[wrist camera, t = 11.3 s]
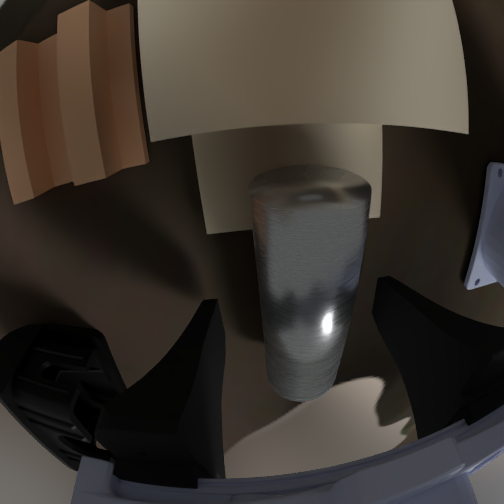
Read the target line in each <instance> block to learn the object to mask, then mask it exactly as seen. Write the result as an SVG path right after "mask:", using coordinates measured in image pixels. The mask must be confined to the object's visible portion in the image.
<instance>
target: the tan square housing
mask: <svg viewBox="0 0 504 504" xmlns="http://www.w3.org/2000/svg"><path fill="white" fill-rule="evenodd" d="M138 26H139V43H140V57H141V68H142V78H143V88H144V96H145V105H146V112H147V120H148V127H149V134H150V140H151V142H155V141H160V140H165V139H170V138H176V137H181V136H187V135H192V141H193V149H194V156H195V163H196V169H197V176H198V183H199V189H200V195H201V201H202V208H203V214H204V220H205V225H206V231H207V234H214V233H223V232H232V231H241V230H250V229H253V228H252V218H251V208H250V199H249V184H250V182H251V181H252V180H253V179H254V178H255V177H256V176H258V175H260V174H261V173H264V172H266V171H269V170H272V169H275V168H280V167H285V166H292V165H323V166H331V167H336V168H340V169H344V170H347V171H350V172H353V173H355V174H357V175H359V176H361V177H363V178H364V179H365V180H366V181H367V182H368V183H369V184H370V186H371V188H372V194H371V204H370V212H369V218H376V217H380V206H381V187H382V124H383V125H398V126H410V127H420V128H429V129H437V130H445V131H451V132H458V133H464V134H468V126H469V125H468V94H467V81H466V71H465V62H464V55H463V48H462V42H461V37H460V32H459V27H458V22H457V18H456V13H455V9H454V6H453V2H452V0H138Z"/></svg>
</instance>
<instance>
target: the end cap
mask: <svg viewBox="0 0 504 504" xmlns="http://www.w3.org/2000/svg"><path fill="white" fill-rule="evenodd" d="M125 390H127V388H126V386H125V384H124V382H123V379H122V377H121V375H120V373H119V370H118V368H117V366H116V364H115V361H114V359H113V356H112V354H111V351H110V349H109V346H108V344H107V341H106V339H105V337H104V335H103V334H102V333H101V332H99V331H98V330H94V329H87V328H80V327H72V326H66V325H59V324H42V325H40V324H35V325H27V326H23V327H20V328H18V329H16V330H14V331H12V332H10V333H9V334H7V335H6V336H4V337H3V338H2V339H1V340H0V402H1V403H2V405H3V406H4V407H5V408H6V409H7V410H8V412H9V413H10V414H11V415H12V416H13V417H14V418H15V419H16V420H17V421H18V422H19V423H20V424H21V425H22V427H24V429H26V430H27V432H29V434H30V435H32V436H33V437H34V438H35V439H36V440H37V441H38V442H39V443H40V444H41V445H42V446H43V447H44V448H46V449H47V450H48V451H49V452H50V453H51V454H52V455H54V456H55V457H56V458H57V459H58V460H60V461H61V462H62V463H63V464H65V465H66V466H67V467H69V468H71V469H73V470H75V471H78V470H79V466H80V462H81V458H82V456H88V457H92V458H96V459H101V460H105V461H108V462H111V463H113V464H115V460H116V457H115V456H114V455H113V454H111V453H110V452H109V451H108V450H104V449H100V448H97V446H96V441H97V439H96V437H95V435H94V433H95V429H96V426H97V422H98V419H99V415H100V412H101V410H102V407H103V405H104V403H106V402H107V401H109V400H111V399H112V398H114V397H116V396H117V395H119V394H121V393H122V392H124V391H125Z"/></svg>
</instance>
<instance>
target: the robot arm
mask: <svg viewBox="0 0 504 504" xmlns="http://www.w3.org/2000/svg"><path fill="white" fill-rule="evenodd" d="M497 281H498V282H499V283H500V284H501V285H502V286H503V287H504V163H497V162H490V163H489V164H488V166H487V171H486V181H485V190H484V197H483V204H482V210H481V216H480V221H479V226H478V231H477V236H476V240H475V245H474V249H473V253H472V257H471V261H470V264H469V268H468V272H467V275H466V278H465V282H464V286H465V287H466V288H467V289H468V290H470V289H474V288H477V287H481V286H484V285H487V284H491V283H494V282H497ZM372 314H373V317H374V320H375V323H376V325H377V328H378V330H379V332H380V334H381V336H382V338H383V340H384V342H385V343H386V345H387V347H388V349H389V351H390V353H391V355H392V356H393V358H394V360H395V362H396V364H397V366H398V368H399V370H400V373H401V375H402V378H403V381H404V384H405V386H406V389H407V393H408V396H409V399H410V403H411V407H412V411H413V415H414V419H415V424H416V430H417V436H418V440H417V441H414V442H411V443H409V444H406V445H404V446H401V447H398V448H395V449H392V450H389V451H387V452H383V453H380V454H377V455H374V456H371V457H367V458H364V459H360V460H357V461H352V462H349V463H345V464H341V465H336V466H331V467H327V468H322V469H316V470H311V471H305V472H299V473H292V474H284V475H276V476H267V477H253V478H231V479H226V477H225V466H224V454H223V439H222V414H221V398H222V386H223V375H224V365H225V354H226V350H225V331H224V327H223V322H222V318H221V313H220V308H219V304H218V299H209V300H203V301H202V302H201V304H200V306H199V308H198V309H197V311H196V313H195V315H194V316H193V318H192V320H191V321H190V323H189V324H188V326H187V327H186V329H185V330H184V332H183V333H182V335H181V336H180V337H179V339H178V340H177V341H176V343H175V344H174V345H173V347H172V348H171V349H170V350H169V352H168V353H167V354H166V355H165V356H164V357H163V358H162V359H161V361H160V362H159V363H158V364H157V365H156V366H155V367H154V368H152V369H151V370H150V371H149V372H148V373H147V374H146V375H145V376H144V377H142V378H141V379H140V380H139V381H137V382H136V383H135V384H134V385H132V386H131V387H129V388H128V389H127V390H125V391H124V392H122V393H121V394H119V395H117V396H116V397H114V398H112V399H111V400H109V401H107V402H106V403H104V405H103V407H102V410H101V412H100V415H99V419H98V422H97V426H96V429H95V433H94V435H95V437H96V439H97V441H98V442H99V443H100V444H101V445H102V446H103V447H105V448H106V449H107V450H108V451H109V452H110V453H111V454H113V455H114V456H115V457H116V460H115V464H113V463H111V462H108V461H105V460H101V459H96V458H92V457H88V456H82V458H81V462H80V466H79V470H78V474H77V478H76V482H75V486H74V491H73V496H72V500H71V504H478V503H477V500H476V497H475V494H474V491H473V488H472V486H471V483H470V480H469V478H468V477H469V476H470V475H472V474H473V473H475V472H476V471H478V470H479V469H481V468H482V467H484V466H485V465H487V464H488V463H490V462H491V461H492V460H494V459H495V458H497V457H498V456H499V455H501V454H502V453H503V452H504V327H497V326H493V325H489V324H485V323H481V322H478V321H475V320H472V319H469V318H466V317H464V316H461V315H459V314H457V313H454V312H452V311H450V310H448V309H446V308H444V307H442V306H440V305H438V304H436V303H434V302H433V301H431V300H429V299H427V298H426V297H424V296H422V295H421V294H419V293H417V292H416V291H414V290H412V289H411V288H409V287H408V286H406V285H404V284H403V283H401V282H399V281H398V280H396V279H394V278H392V277H390V276H386V277H380V278H378V280H377V286H376V292H375V298H374V304H373V310H372ZM278 495H281V496H278Z"/></svg>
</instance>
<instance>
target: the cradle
mask: <svg viewBox="0 0 504 504" xmlns="http://www.w3.org/2000/svg"><path fill="white" fill-rule="evenodd" d="M0 141H1V148H2V154H3V159H4V165H5V170H6V174H7V179H8V183H9V187H10V192H11V195H12V199H13V203H14V205H15V204H18V203H21V202H24V201H27V200H30V199H33V198H35V197H37V196H39V195H41V194H43V193H44V192H46V191H48V190H50V189H52V188H53V187H56V186H59V185H62V184H66V183H69V182H74V186H77V185H81V184H84V183H88V182H92V181H96V180H100V179H104V178H107V177H109V176H111V175H112V174H114V173H116V172H118V171H120V170H121V169H124V168H129V167H133V166H138V165H143V164H147V163H148V162H150V161H149V155H148V149H147V143H146V137H145V130H144V123H143V116H142V109H141V101H140V92H139V83H138V73H137V62H136V49H135V33H134V8H133V6H132V5H131V4H130V3H128V4H125V5H122V6H119V7H117V8H114V9H111V10H108V11H106V10H104V9H103V8H101V7H100V6H98V5H96V4H95V3H93V2H92V1H90V0H88V1H86V2H84V3H81V4H79V5H77V6H75V7H73V8H71V9H69V10H67V11H65V12H63V13H61V14H59V15H58V20H57V34H55V35H53V36H51V37H49V38H47V39H46V40H44V41H42V42H40V43H39V44H37V43H32V42H27V41H21V40H16V41H14V42H13V43H12V44H10V45H9V46H7V47H6V48H5V49H3V50H2V51H1V52H0Z"/></svg>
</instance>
